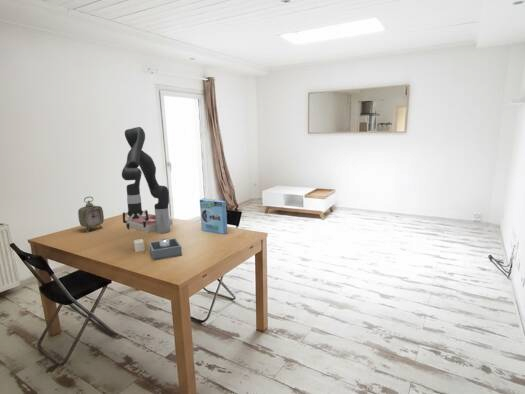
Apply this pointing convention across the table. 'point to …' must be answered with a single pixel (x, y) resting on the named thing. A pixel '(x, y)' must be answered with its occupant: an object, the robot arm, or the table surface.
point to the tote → (165, 249)
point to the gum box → (213, 215)
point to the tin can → (164, 243)
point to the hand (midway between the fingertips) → (136, 228)
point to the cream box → (139, 245)
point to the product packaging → (149, 223)
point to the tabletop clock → (90, 215)
